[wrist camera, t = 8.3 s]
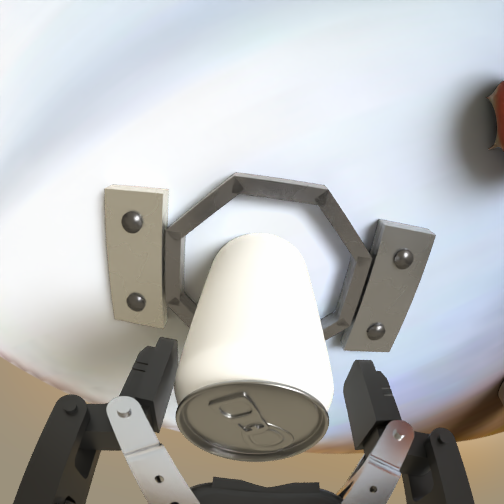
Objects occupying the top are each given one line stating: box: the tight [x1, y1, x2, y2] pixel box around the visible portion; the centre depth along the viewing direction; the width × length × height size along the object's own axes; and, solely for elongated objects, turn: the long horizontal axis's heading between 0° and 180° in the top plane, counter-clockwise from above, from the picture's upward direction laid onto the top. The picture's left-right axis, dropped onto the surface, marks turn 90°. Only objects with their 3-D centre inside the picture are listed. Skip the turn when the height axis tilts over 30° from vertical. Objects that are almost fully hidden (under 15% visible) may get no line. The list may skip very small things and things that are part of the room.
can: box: [174, 233, 334, 462], centre depth 15 cm, size 6×6×12 cm
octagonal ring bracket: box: [105, 172, 436, 352], centre depth 20 cm, size 22×13×1 cm, turn 83°
